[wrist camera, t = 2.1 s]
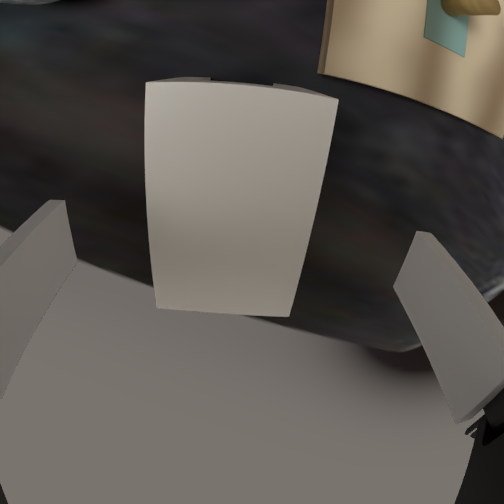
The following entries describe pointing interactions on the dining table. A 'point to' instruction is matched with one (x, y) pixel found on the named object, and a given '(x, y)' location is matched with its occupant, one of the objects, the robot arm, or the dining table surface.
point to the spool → (27, 2)
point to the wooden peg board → (422, 53)
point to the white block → (232, 191)
